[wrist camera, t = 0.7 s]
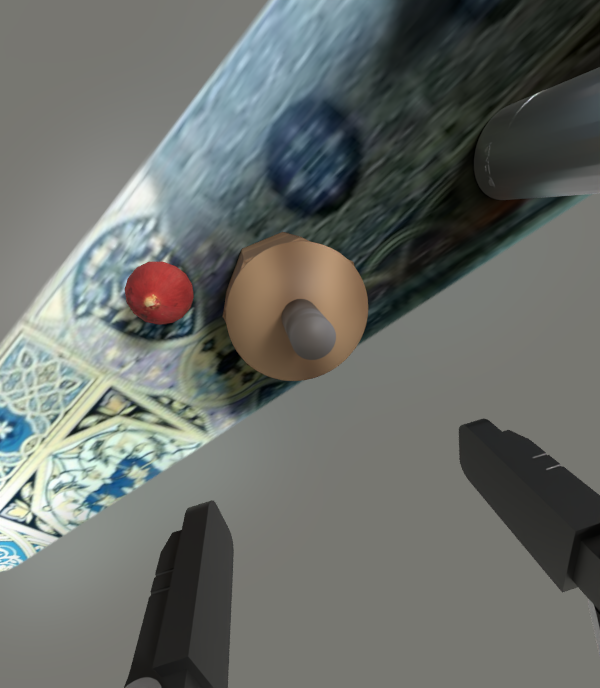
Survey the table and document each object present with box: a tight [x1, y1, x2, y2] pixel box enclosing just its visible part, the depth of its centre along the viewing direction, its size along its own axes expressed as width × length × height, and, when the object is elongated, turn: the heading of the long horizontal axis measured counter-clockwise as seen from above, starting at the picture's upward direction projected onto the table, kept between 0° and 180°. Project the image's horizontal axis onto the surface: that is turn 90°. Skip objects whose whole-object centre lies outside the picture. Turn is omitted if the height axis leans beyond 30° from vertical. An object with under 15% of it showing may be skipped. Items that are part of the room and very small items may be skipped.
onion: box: [125, 262, 194, 324], centre depth 29 cm, size 6×6×8 cm
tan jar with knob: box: [223, 232, 368, 381], centre depth 27 cm, size 12×12×16 cm
